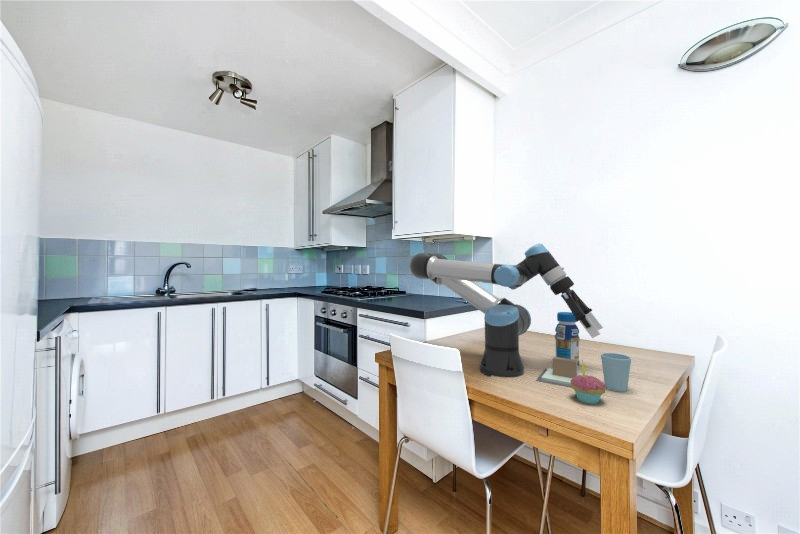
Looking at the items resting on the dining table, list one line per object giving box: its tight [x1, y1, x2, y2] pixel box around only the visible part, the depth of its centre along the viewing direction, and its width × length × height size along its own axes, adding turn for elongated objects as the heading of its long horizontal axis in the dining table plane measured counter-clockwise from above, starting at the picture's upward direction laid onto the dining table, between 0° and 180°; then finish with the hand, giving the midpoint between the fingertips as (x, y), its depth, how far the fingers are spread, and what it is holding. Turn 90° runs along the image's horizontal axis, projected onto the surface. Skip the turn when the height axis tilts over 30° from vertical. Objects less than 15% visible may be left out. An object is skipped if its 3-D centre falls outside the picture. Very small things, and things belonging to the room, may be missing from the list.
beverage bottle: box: [554, 311, 581, 368], centre depth 122 cm, size 8×8×20 cm
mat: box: [535, 368, 573, 389], centre depth 105 cm, size 15×15×1 cm
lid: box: [541, 356, 589, 386], centre depth 105 cm, size 12×12×6 cm
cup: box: [600, 352, 632, 393], centre depth 97 cm, size 8×8×10 cm
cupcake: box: [571, 359, 607, 405], centre depth 89 cm, size 9×8×12 cm
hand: (598, 332), depth 109 cm, fingers open, 13 cm apart
